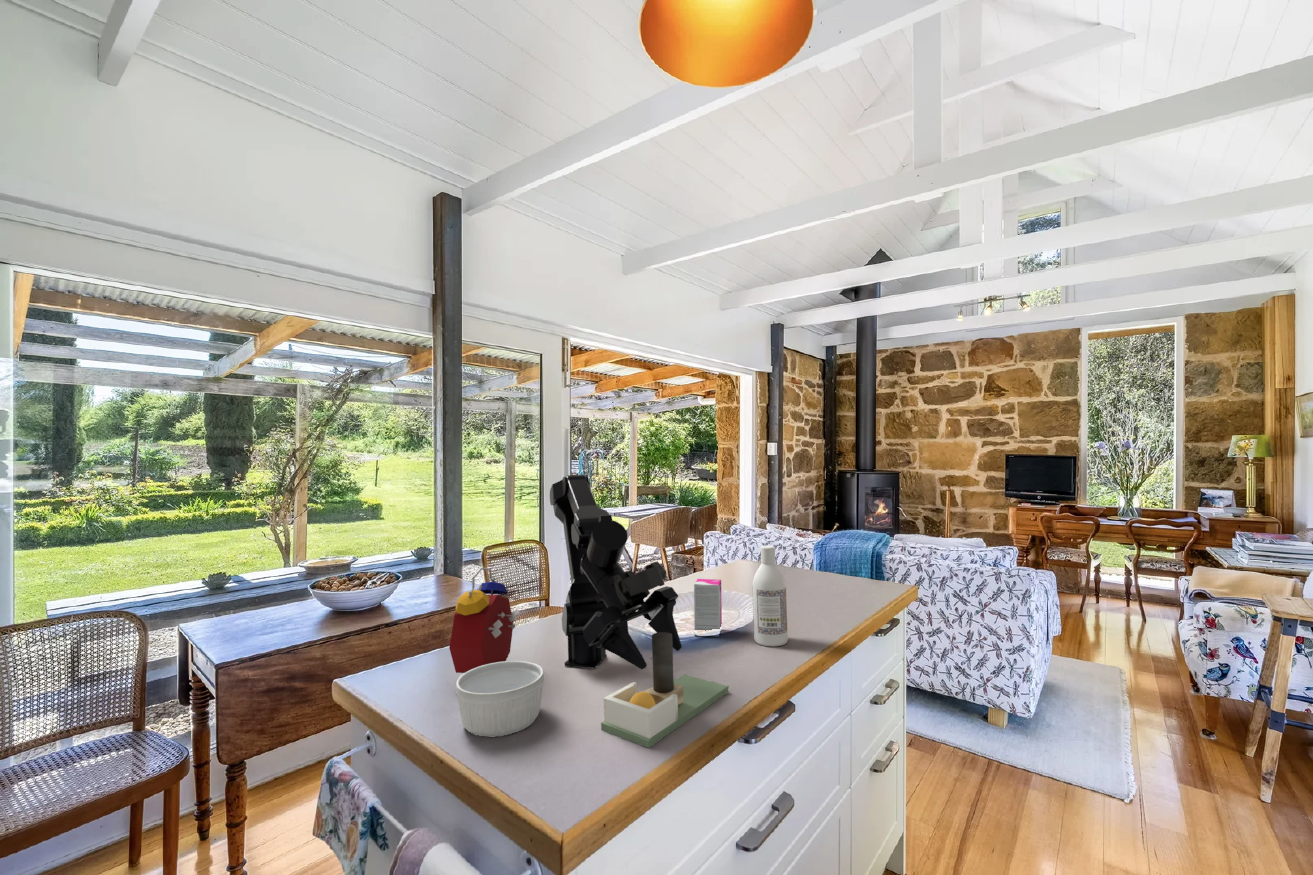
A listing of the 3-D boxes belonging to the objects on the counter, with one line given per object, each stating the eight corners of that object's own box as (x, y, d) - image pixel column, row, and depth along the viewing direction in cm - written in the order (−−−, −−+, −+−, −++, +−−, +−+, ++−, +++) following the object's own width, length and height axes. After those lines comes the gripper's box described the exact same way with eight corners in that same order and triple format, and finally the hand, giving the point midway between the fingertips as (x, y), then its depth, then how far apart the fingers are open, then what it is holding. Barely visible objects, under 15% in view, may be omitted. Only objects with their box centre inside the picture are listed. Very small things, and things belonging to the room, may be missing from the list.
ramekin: (475, 702, 93) (474, 660, 94) (553, 700, 93) (552, 658, 93) (442, 743, 80) (441, 694, 80) (533, 742, 80) (531, 693, 80)
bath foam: (793, 645, 115) (790, 548, 116) (762, 648, 114) (759, 550, 114) (779, 634, 122) (775, 543, 122) (749, 637, 121) (746, 545, 121)
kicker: (644, 706, 87) (642, 637, 87) (663, 695, 91) (661, 628, 91) (664, 713, 84) (662, 642, 84) (683, 701, 88) (681, 633, 88)
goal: (603, 721, 83) (603, 697, 83) (634, 703, 89) (633, 681, 89) (650, 738, 78) (649, 713, 78) (679, 718, 83) (678, 695, 83)
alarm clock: (485, 658, 113) (483, 559, 114) (526, 659, 112) (523, 559, 112) (449, 689, 98) (446, 576, 99) (495, 691, 97) (493, 576, 98)
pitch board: (601, 729, 83) (601, 722, 83) (684, 679, 100) (684, 674, 100) (648, 747, 77) (648, 740, 77) (728, 691, 94) (728, 685, 94)
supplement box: (720, 637, 121) (719, 584, 122) (693, 636, 123) (692, 584, 123) (723, 629, 127) (721, 578, 127) (697, 628, 128) (695, 578, 129)
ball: (633, 683, 84) (648, 688, 86) (618, 708, 83) (634, 711, 86) (650, 700, 81) (665, 704, 84) (635, 725, 80) (651, 728, 83)
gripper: (594, 558, 84) (654, 646, 77) (667, 539, 99) (723, 612, 92) (559, 603, 89) (613, 690, 82) (634, 579, 103) (685, 651, 96)
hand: (662, 658), depth 88 cm, fingers open, 9 cm apart
